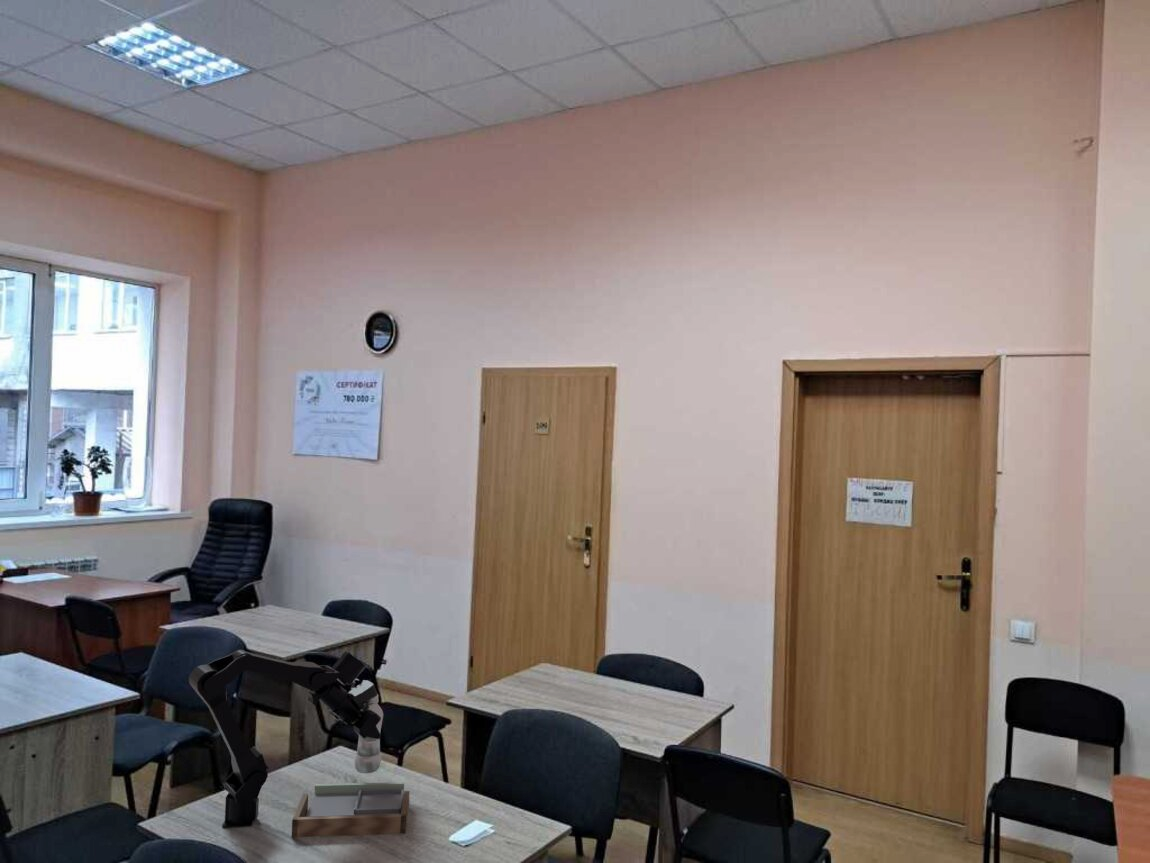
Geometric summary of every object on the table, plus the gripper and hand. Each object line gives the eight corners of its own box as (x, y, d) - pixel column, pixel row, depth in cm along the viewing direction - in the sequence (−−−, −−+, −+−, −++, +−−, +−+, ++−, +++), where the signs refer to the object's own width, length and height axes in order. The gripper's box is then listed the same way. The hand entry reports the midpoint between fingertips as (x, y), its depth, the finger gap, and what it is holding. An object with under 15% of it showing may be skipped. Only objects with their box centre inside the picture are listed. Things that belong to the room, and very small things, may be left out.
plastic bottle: (355, 766, 212) (358, 691, 212) (381, 766, 213) (384, 690, 213) (352, 777, 205) (356, 698, 206) (380, 776, 207) (383, 698, 207)
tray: (305, 819, 189) (306, 808, 189) (315, 795, 202) (315, 784, 202) (400, 817, 192) (400, 805, 192) (403, 792, 205) (404, 782, 205)
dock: (291, 837, 181) (292, 819, 181) (302, 810, 194) (303, 793, 194) (405, 833, 185) (406, 816, 185) (408, 807, 198) (409, 791, 198)
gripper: (375, 682, 200) (412, 718, 207) (343, 664, 214) (378, 698, 221) (344, 720, 195) (383, 755, 202) (312, 699, 209) (350, 732, 216)
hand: (374, 733), depth 210 cm, fingers closed on plastic bottle, 6 cm apart
